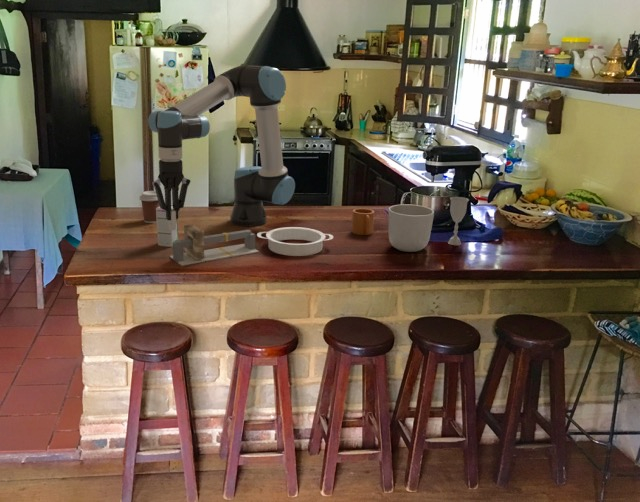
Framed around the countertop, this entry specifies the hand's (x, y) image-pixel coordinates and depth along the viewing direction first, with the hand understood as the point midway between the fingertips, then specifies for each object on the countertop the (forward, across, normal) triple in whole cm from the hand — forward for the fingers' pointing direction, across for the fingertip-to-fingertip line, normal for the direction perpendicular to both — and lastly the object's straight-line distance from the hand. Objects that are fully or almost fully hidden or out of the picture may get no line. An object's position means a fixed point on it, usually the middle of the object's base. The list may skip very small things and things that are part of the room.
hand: (172, 228), depth 218 cm
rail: (+12, +16, 0) cm, 20 cm away
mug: (+11, +80, -4) cm, 81 cm away
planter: (+11, +83, -28) cm, 88 cm away
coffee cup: (+12, +12, +51) cm, 54 cm away
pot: (+12, +46, -6) cm, 48 cm away
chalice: (+11, +104, -32) cm, 109 cm away
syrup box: (+12, +6, +19) cm, 23 cm away
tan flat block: (+11, +8, 0) cm, 13 cm away
